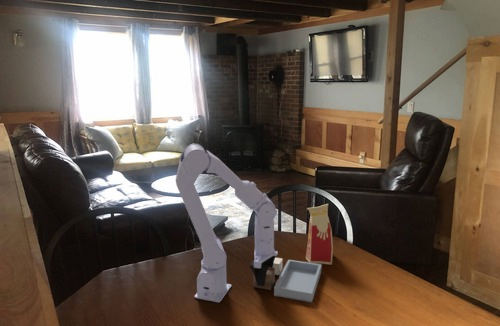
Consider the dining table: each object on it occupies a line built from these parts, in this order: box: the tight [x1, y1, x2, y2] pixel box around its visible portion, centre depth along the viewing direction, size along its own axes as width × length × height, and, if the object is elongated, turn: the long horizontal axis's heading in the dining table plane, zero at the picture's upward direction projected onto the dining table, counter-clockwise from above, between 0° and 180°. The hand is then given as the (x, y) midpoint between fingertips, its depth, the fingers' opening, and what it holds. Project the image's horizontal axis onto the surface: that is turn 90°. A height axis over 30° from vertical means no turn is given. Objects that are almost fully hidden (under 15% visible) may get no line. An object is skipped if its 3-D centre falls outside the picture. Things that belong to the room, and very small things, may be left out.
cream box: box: [273, 257, 283, 276], centre depth 126 cm, size 4×4×4 cm
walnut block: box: [252, 267, 276, 291], centre depth 118 cm, size 4×6×5 cm
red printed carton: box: [305, 203, 334, 266], centre depth 133 cm, size 9×9×20 cm
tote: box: [273, 259, 323, 303], centre depth 119 cm, size 18×11×3 cm, turn 161°
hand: (264, 278), depth 118 cm, fingers open, 7 cm apart
